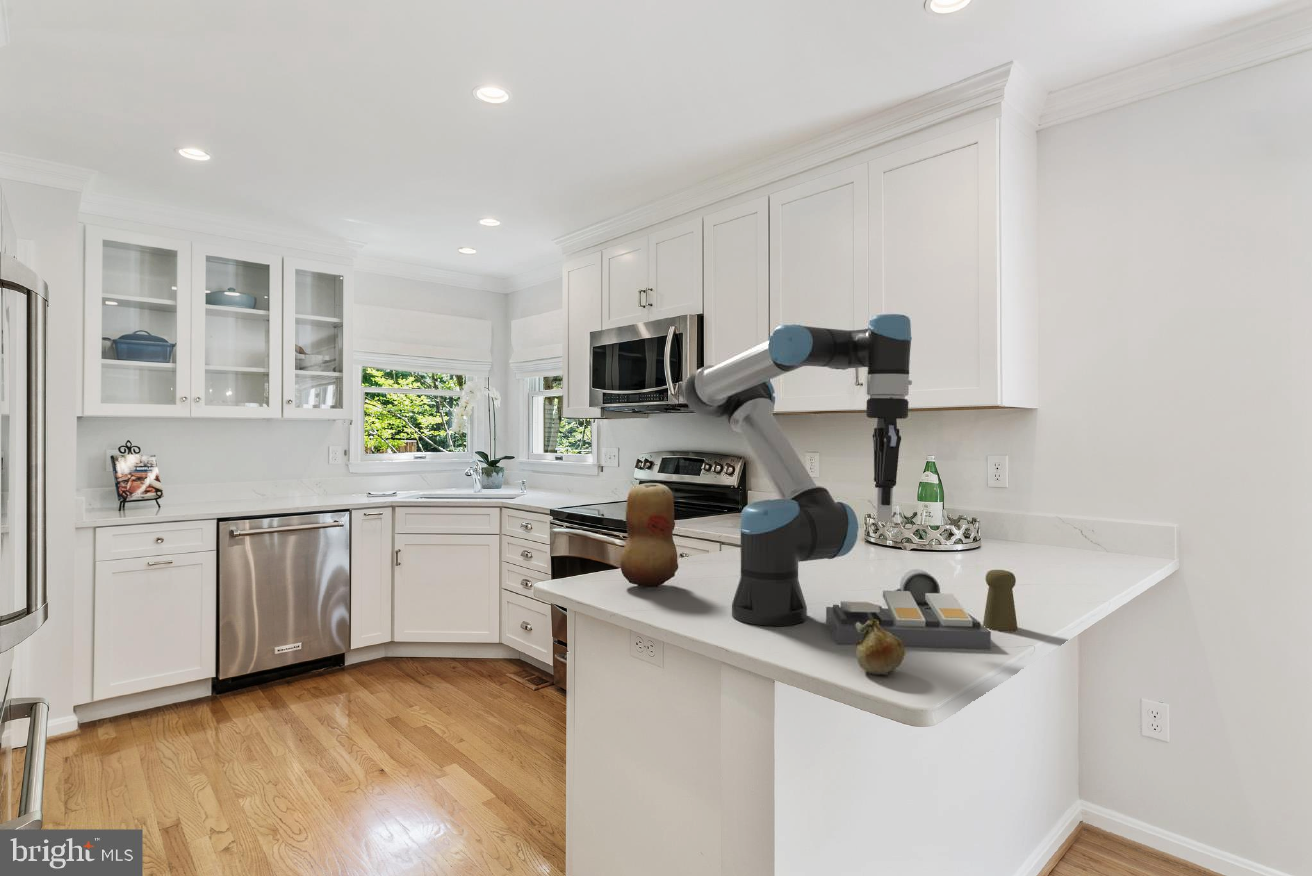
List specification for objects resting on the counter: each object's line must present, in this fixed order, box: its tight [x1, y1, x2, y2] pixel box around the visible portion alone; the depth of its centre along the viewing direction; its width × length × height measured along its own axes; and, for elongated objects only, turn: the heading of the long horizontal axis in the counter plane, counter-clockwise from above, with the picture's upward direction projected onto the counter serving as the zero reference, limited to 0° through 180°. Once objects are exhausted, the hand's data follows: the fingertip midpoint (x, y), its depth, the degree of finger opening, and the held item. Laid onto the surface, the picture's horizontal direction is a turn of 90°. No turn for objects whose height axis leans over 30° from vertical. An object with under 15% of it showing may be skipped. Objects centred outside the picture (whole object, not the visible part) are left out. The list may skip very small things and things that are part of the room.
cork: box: [982, 569, 1018, 633], centre depth 132 cm, size 6×6×11 cm
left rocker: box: [839, 600, 880, 612], centre depth 128 cm, size 5×11×1 cm, turn 174°
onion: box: [855, 619, 906, 676], centre depth 107 cm, size 8×8×8 cm
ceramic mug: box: [893, 569, 941, 609], centre depth 150 cm, size 11×8×8 cm
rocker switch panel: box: [825, 604, 992, 650], centre depth 127 cm, size 26×14×4 cm, turn 84°
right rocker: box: [925, 592, 973, 626], centre depth 126 cm, size 5×11×1 cm, turn 174°
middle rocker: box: [882, 590, 926, 627], centre depth 127 cm, size 5×11×1 cm, turn 174°
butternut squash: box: [620, 482, 679, 588], centre depth 165 cm, size 14×13×25 cm
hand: (883, 521), depth 130 cm, fingers closed
